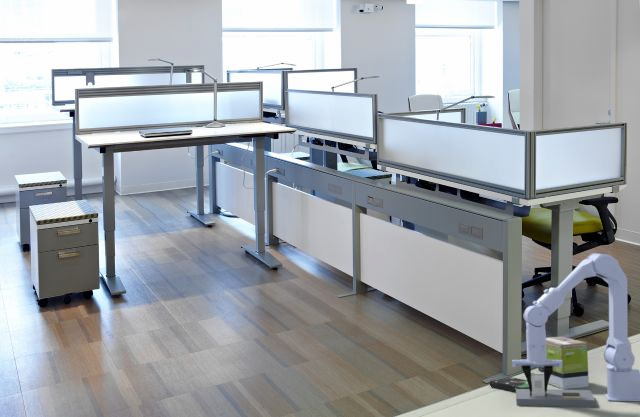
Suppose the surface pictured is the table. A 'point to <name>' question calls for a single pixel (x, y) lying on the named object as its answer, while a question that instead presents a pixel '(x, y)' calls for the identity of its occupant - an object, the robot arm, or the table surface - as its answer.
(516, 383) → the disk drive
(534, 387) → the plug
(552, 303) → the robot arm
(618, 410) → the table surface
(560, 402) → the panel
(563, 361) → the tea box
